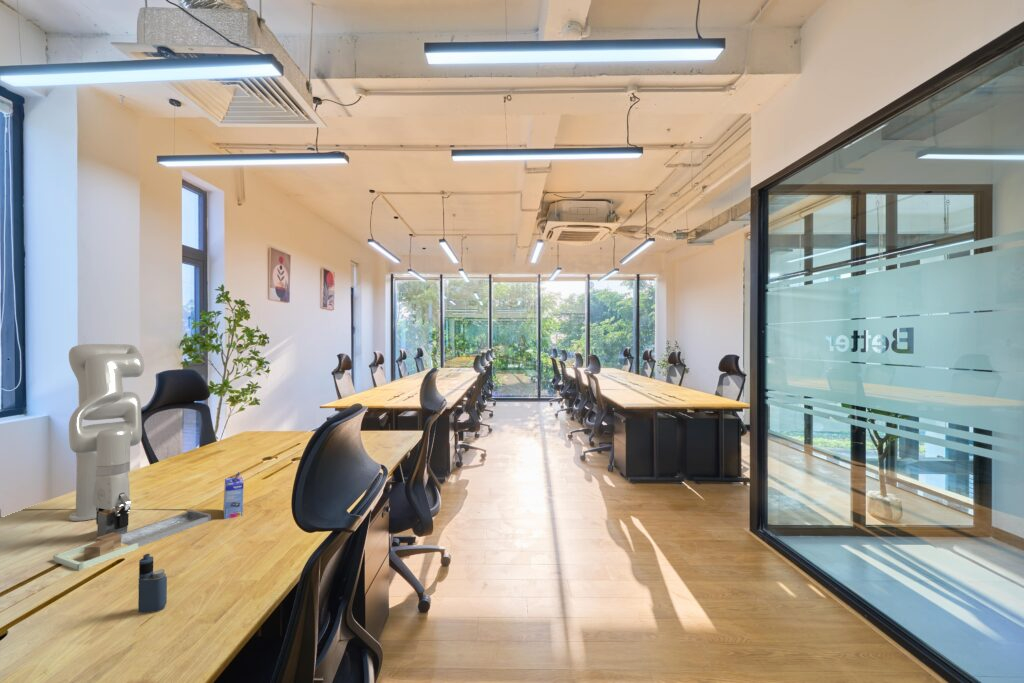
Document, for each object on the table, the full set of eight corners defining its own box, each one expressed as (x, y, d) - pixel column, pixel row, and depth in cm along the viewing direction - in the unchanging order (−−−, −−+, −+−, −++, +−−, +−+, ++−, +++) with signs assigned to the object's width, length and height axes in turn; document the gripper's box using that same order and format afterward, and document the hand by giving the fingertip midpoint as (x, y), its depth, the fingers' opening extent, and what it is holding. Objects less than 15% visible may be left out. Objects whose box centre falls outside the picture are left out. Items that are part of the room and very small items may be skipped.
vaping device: (144, 606, 91) (145, 552, 92) (169, 604, 92) (170, 551, 92) (134, 613, 89) (135, 558, 89) (160, 612, 89) (161, 556, 89)
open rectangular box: (115, 544, 121) (115, 534, 121) (190, 518, 139) (190, 509, 139) (137, 550, 117) (137, 540, 117) (210, 523, 135) (211, 514, 135)
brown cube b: (84, 562, 110) (84, 547, 110) (98, 555, 114) (98, 540, 114) (99, 561, 110) (100, 547, 110) (113, 554, 114) (113, 540, 114)
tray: (53, 564, 109) (53, 555, 109) (112, 544, 121) (112, 535, 121) (78, 574, 104) (78, 564, 105) (137, 552, 116) (137, 543, 116)
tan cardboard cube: (95, 552, 115) (95, 538, 115) (113, 546, 119) (113, 532, 119) (103, 554, 114) (103, 540, 114) (121, 548, 117) (121, 534, 117)
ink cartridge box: (243, 518, 139) (244, 475, 140) (223, 522, 136) (224, 479, 136) (241, 509, 147) (242, 469, 147) (223, 513, 144) (223, 472, 144)
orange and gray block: (97, 539, 124) (97, 511, 124) (118, 532, 128) (118, 505, 129) (106, 542, 122) (106, 514, 122) (126, 535, 127) (127, 508, 127)
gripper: (81, 469, 125) (80, 525, 125) (113, 476, 119) (112, 535, 118) (113, 463, 132) (112, 516, 132) (144, 469, 126) (143, 524, 125)
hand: (112, 525), depth 125 cm, fingers open, 9 cm apart
